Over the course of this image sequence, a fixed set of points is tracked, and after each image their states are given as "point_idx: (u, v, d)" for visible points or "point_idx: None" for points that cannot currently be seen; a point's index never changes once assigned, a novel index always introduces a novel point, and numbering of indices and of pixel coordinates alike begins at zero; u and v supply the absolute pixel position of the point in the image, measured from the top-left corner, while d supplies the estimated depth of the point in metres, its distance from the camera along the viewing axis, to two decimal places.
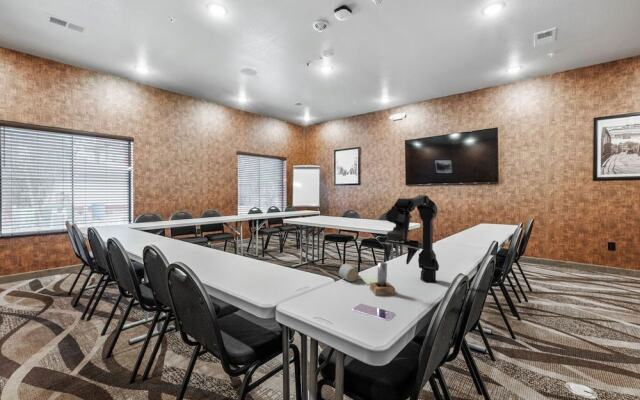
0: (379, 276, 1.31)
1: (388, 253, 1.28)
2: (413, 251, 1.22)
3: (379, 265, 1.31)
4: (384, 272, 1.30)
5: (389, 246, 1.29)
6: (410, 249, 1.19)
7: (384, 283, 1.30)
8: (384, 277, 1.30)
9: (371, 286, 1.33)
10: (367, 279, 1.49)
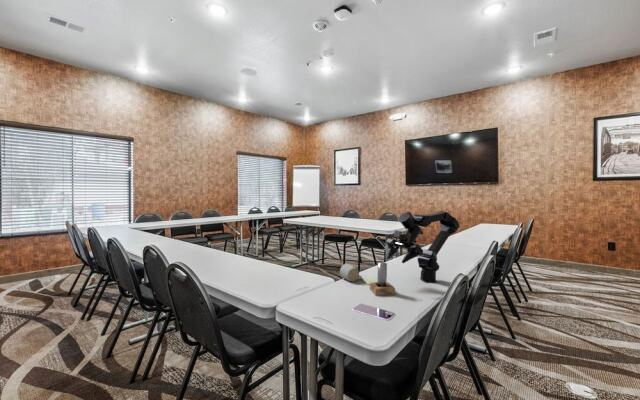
0: (379, 276, 1.31)
1: (391, 253, 1.41)
2: (412, 255, 1.33)
3: (379, 265, 1.31)
4: (384, 272, 1.30)
5: (394, 249, 1.43)
6: (409, 249, 1.32)
7: (384, 283, 1.30)
8: (384, 277, 1.30)
9: (371, 286, 1.33)
10: (367, 279, 1.49)
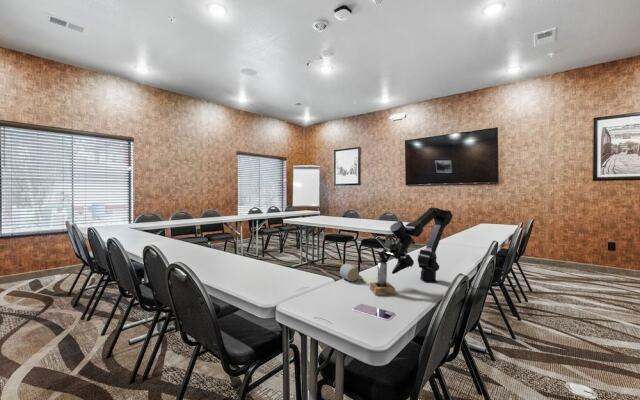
0: (379, 276, 1.31)
1: None
2: (402, 265, 1.30)
3: (379, 265, 1.31)
4: (384, 272, 1.30)
5: (385, 259, 1.40)
6: (400, 260, 1.29)
7: (384, 283, 1.30)
8: (384, 277, 1.30)
9: (371, 286, 1.33)
10: (367, 279, 1.49)
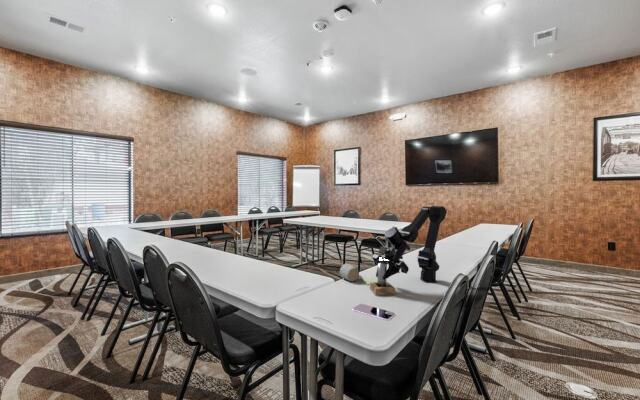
0: (379, 276, 1.31)
1: None
2: (393, 271, 1.31)
3: (379, 265, 1.31)
4: (384, 272, 1.30)
5: None
6: (390, 265, 1.29)
7: (384, 283, 1.30)
8: None
9: (371, 286, 1.33)
10: (367, 279, 1.49)
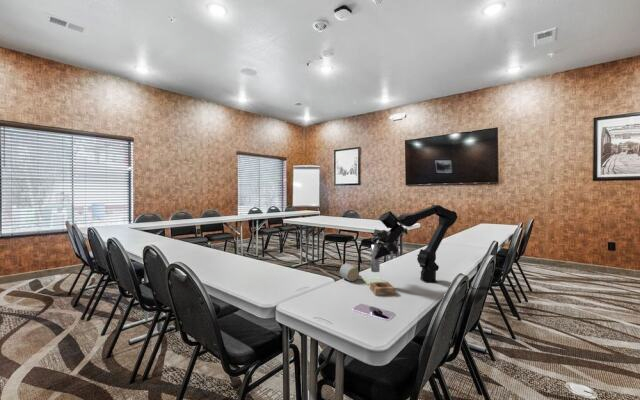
0: (372, 256, 1.41)
1: None
2: (385, 252, 1.39)
3: (372, 246, 1.41)
4: (376, 253, 1.40)
5: None
6: (381, 246, 1.38)
7: (376, 263, 1.40)
8: None
9: (371, 286, 1.33)
10: (367, 279, 1.49)
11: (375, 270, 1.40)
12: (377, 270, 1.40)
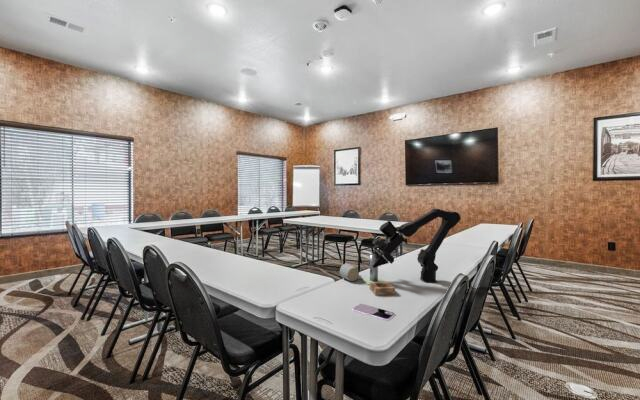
0: (370, 266, 1.47)
1: None
2: (383, 261, 1.42)
3: (370, 256, 1.47)
4: (373, 262, 1.45)
5: (378, 256, 1.51)
6: (379, 255, 1.42)
7: (374, 272, 1.45)
8: None
9: (371, 286, 1.33)
10: (367, 279, 1.49)
11: (373, 279, 1.45)
12: (375, 279, 1.45)
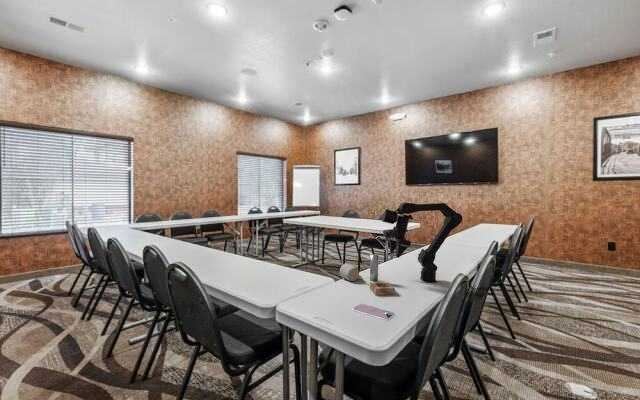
0: (370, 266, 1.47)
1: (392, 247, 1.54)
2: (403, 247, 1.44)
3: (370, 256, 1.47)
4: (374, 263, 1.45)
5: (395, 242, 1.55)
6: (397, 245, 1.43)
7: (374, 272, 1.45)
8: (374, 267, 1.45)
9: (371, 286, 1.33)
10: (367, 279, 1.49)
11: (373, 279, 1.45)
12: (375, 279, 1.45)
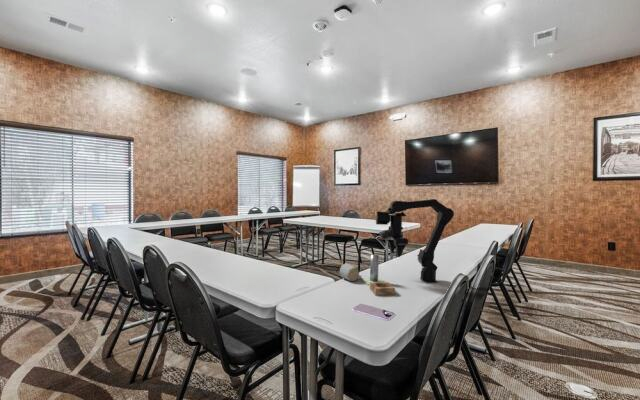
0: (370, 266, 1.46)
1: (392, 247, 1.55)
2: (402, 246, 1.44)
3: (371, 256, 1.46)
4: (374, 263, 1.45)
5: (393, 241, 1.55)
6: (395, 245, 1.44)
7: (374, 273, 1.45)
8: (375, 267, 1.45)
9: (371, 286, 1.33)
10: (367, 279, 1.49)
11: (373, 279, 1.45)
12: (375, 280, 1.45)
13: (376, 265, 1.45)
